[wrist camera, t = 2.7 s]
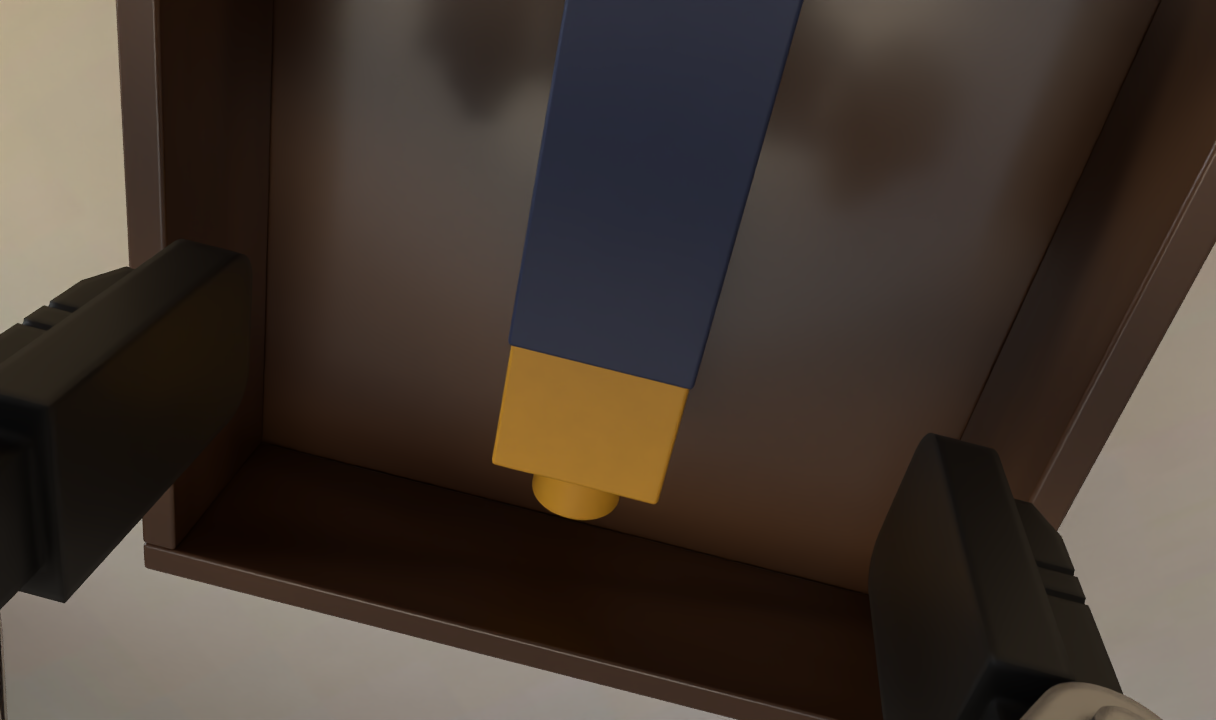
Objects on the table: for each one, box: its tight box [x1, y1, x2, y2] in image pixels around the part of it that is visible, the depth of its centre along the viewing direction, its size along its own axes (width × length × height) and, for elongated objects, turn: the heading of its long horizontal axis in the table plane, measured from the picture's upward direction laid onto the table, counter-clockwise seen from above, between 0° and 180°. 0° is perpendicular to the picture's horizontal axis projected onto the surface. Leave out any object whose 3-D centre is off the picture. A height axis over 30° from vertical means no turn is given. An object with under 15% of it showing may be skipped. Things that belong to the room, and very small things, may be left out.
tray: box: [116, 0, 1216, 720], centre depth 16 cm, size 15×14×4 cm
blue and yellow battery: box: [492, 0, 804, 520], centre depth 16 cm, size 10×3×3 cm, turn 169°
